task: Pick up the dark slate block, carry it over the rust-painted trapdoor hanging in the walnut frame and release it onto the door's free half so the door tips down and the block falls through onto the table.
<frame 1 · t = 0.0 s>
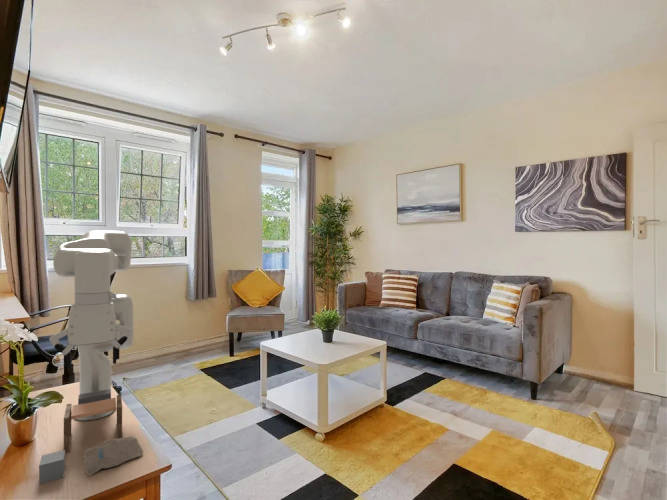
hand: (92, 365, 91), 31 cm above the table, fingers open, 9 cm apart
slate block: (52, 475, 95), on the table
frame: (94, 431, 117), on the table
trapdoor: (94, 404, 116), point 10 cm above the table, hinge at 0.0°
concrete fragment: (114, 462, 102), on the table
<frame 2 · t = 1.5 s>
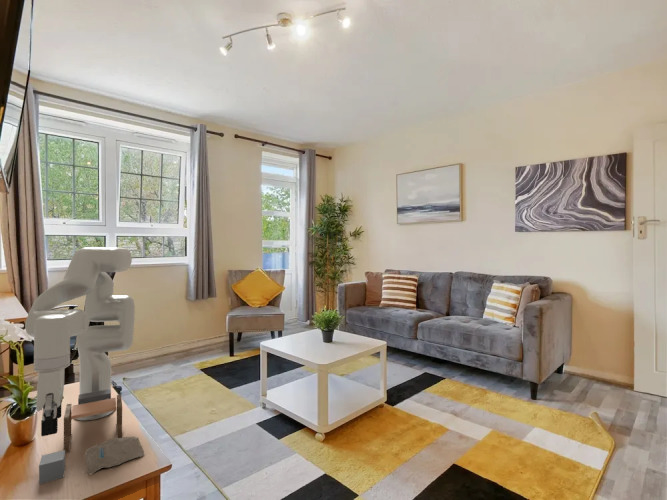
hand: (51, 426, 94), 14 cm above the table, fingers open, 9 cm apart
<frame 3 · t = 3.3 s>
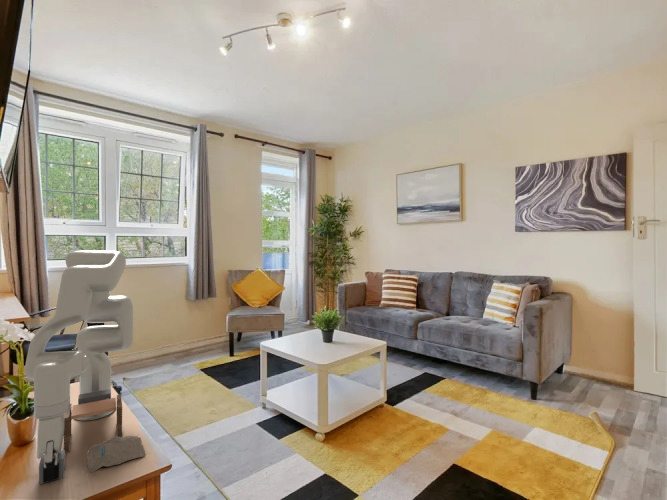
hand: (52, 473, 95), 1 cm above the table, fingers closed on slate block, 5 cm apart
slate block: (52, 475, 95), on the table, touching gripper
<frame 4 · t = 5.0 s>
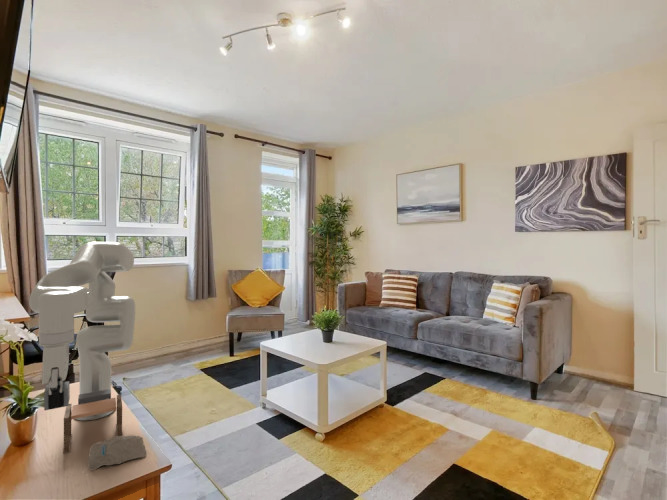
hand: (57, 402, 97), 19 cm above the table, fingers closed on slate block, 5 cm apart
slate block: (57, 404, 97), point 18 cm above the table, touching gripper
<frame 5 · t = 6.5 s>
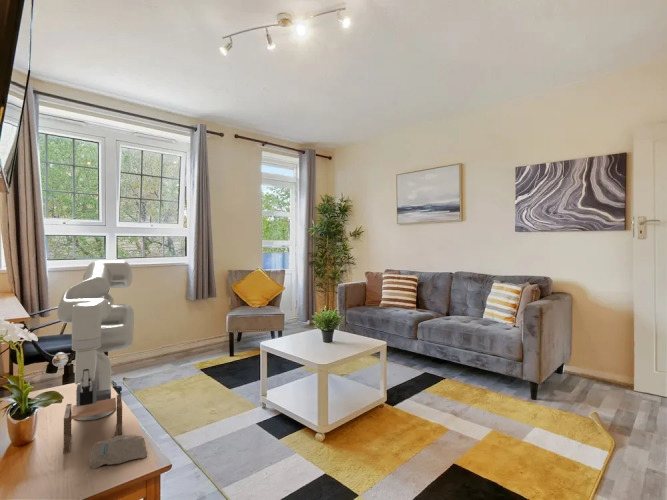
hand: (86, 400, 111), 13 cm above the table, fingers closed on slate block, 5 cm apart
slate block: (86, 401, 111), point 13 cm above the table, touching gripper
when the fingers open (13 cm above the table, at t = 6.7 s): slate block drops 10 cm and tips over, point 2 cm above the table.
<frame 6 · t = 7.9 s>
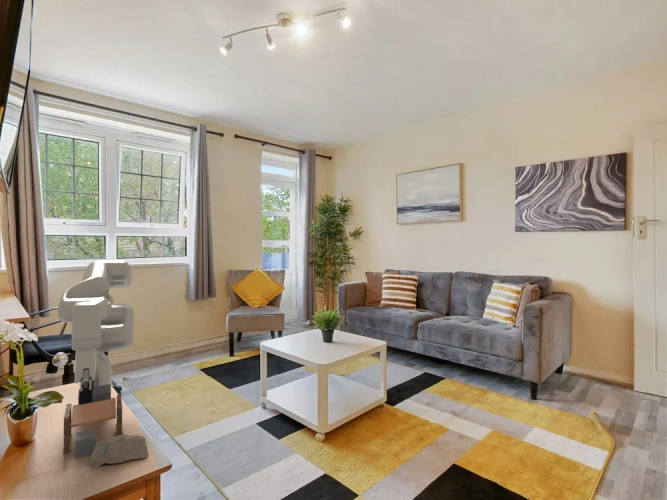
hand: (86, 396, 110), 14 cm above the table, fingers open, 9 cm apart
slate block: (86, 438, 108), point 2 cm above the table, tilted 90°
trapdoor: (94, 405, 116), point 9 cm above the table, hinge at -21.2°
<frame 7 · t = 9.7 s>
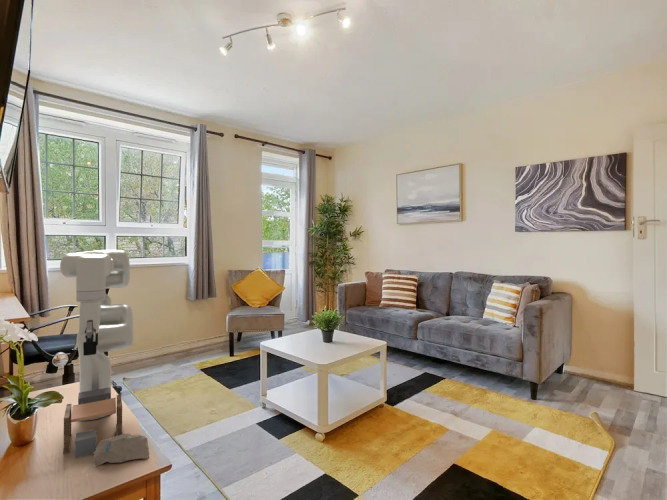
hand: (91, 350, 111), 29 cm above the table, fingers open, 9 cm apart
trapdoor: (94, 404, 116), point 9 cm above the table, hinge at -7.3°
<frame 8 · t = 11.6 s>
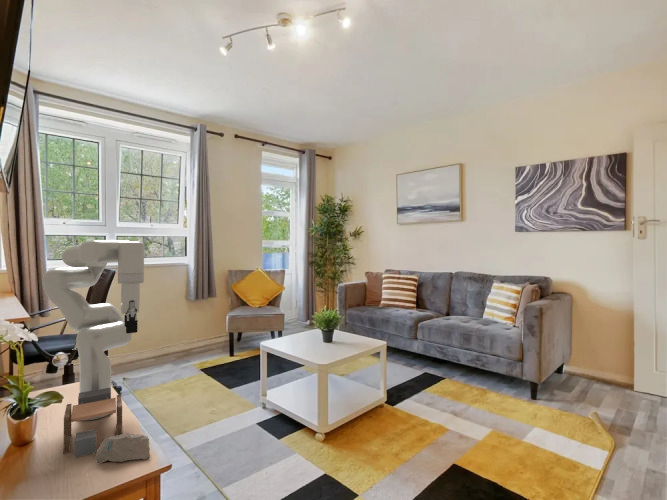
hand: (130, 329, 119), 33 cm above the table, fingers open, 9 cm apart
trapdoor: (94, 404, 116), point 9 cm above the table, hinge at -6.0°
at the end: slate block point 2.4 cm above the table; slate block inside the target area (3.8 cm from its centre), point 2.4 cm above the table; the gripper is holding nothing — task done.
